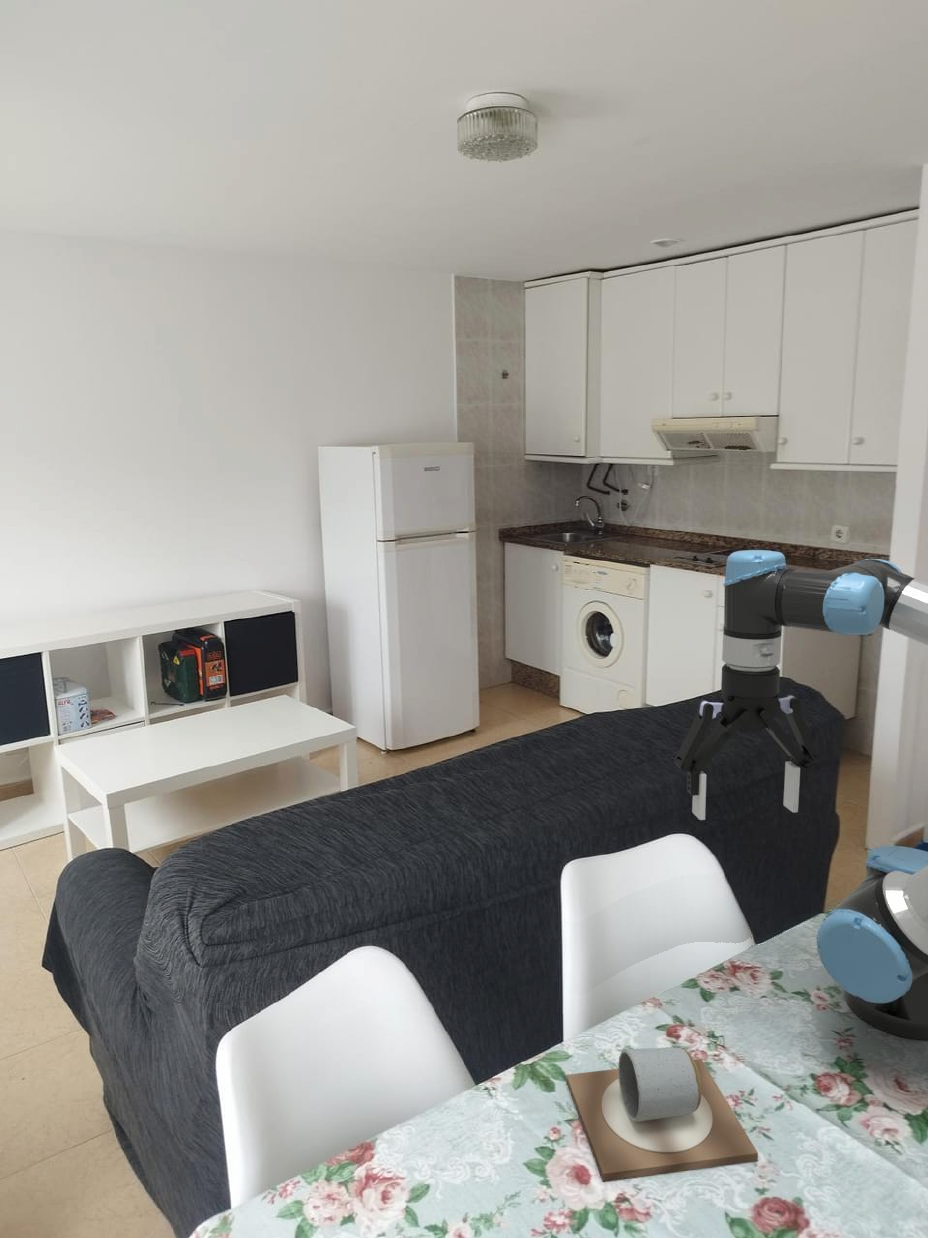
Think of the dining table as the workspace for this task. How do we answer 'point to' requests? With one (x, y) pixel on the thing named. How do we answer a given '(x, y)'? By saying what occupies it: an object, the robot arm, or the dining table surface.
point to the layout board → (657, 1130)
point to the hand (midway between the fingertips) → (744, 812)
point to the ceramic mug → (658, 1083)
